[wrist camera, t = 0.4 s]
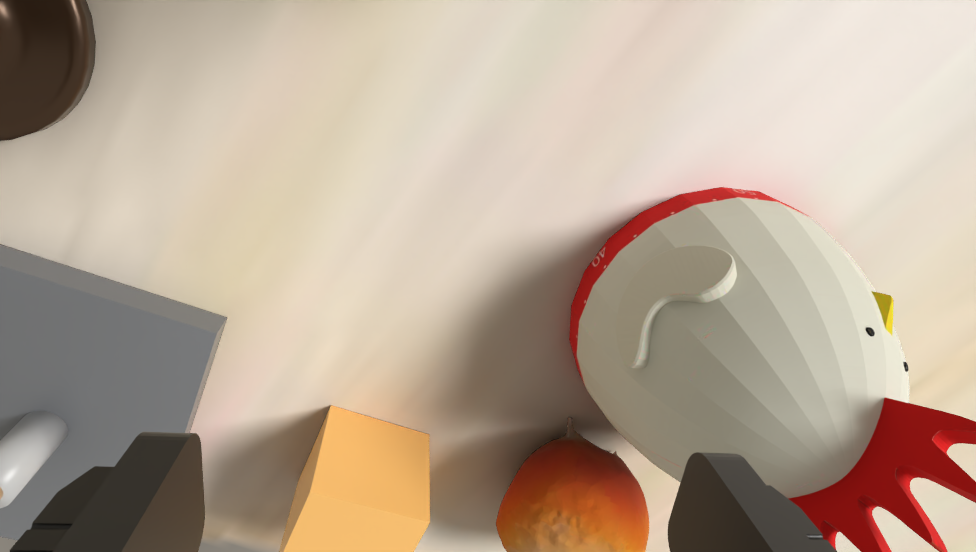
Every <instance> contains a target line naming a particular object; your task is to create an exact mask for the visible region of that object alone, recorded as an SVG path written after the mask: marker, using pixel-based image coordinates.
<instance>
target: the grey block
mask: <svg viewBox="0 0 976 552" xmlns="http://www.w3.org/2000/svg"><path fill="white" fill-rule="evenodd" d="M226 320H227V317H224V316H221V315H218V314H215V313H212V312H208V311H205V310H202V309H199V308H196V307H193V306H190V305H187V304H184V303H181V302H177V301H174V300H171V299H168V298H165V297H162V296H159V295H156V294H153V293H150V292H146V291H143V290H140V289H137V288H134V287H131V286H128V285H125V284H122V283H119V282H115V281H112V280H109V279H106V278H103V277H100V276H97V275H94V274H91V273H88V272H85V271H81V270H78V269H75V268H72V267H69V266H66V265H63V264H60V263H57V262H54V261H50V260H47V259H44V258H41V257H38V256H35V255H32V254H29V253H26V252H23V251H19V250H16V249H13V248H10V247H7V246H4V245H1V244H0V537H4V538H8V539H13V540H19V539H20V537H21V536H22V535H23V534H24V532H25V531H26V530H30V529H31V527H32V523H33V521H34V520H35V519H36V518H37V516H38V515H39V514H40V513H41V512H42V510H43V509H44V508H45V507H46V505H47V504H48V503H49V502H50V501H51V499H52V498H53V497H54V496H55V494H56V493H57V492H58V491H60V490H61V489H62V488H64V487H65V486H67V485H68V484H70V483H71V482H73V481H74V480H76V479H77V478H78V477H80V476H81V475H83V474H84V473H86V472H87V471H89V470H90V469H91V468H93V467H94V466H104V467H115V465H116V464H117V463H118V461H119V460H120V458H121V457H122V456H123V454H124V453H125V452H126V450H127V449H128V447H129V446H130V445H131V443H132V442H133V441H134V439H135V438H136V437H137V436H138V435H139V434H140V433H142V432H168V433H190V430H191V427H192V424H193V421H194V418H195V415H196V411H197V408H198V405H199V402H200V399H201V396H202V393H203V390H204V387H205V384H206V381H207V378H208V375H209V372H210V369H211V366H212V363H213V359H214V356H215V353H216V350H217V347H218V344H219V341H220V338H221V335H222V332H223V329H224V326H225V323H226Z"/></svg>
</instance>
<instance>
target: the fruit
mask: <svg viewBox="0 0 976 552" xmlns="http://www.w3.org/2000/svg"><path fill="white" fill-rule="evenodd" d="M567 425H568V427H567V433H566V434H565V436H563V437H562V438H560V439H556V440H552V441H550V442H549V443H547V444H545V445H544V446H542V447H540V448H539V449H537V450H536V451H535V452H533V453H532V454H531V455H530V456H529V457H528V458H527V459H526V460H525V462H524V463H523V465H522V466H521V468H520V469H519V471H518V472H517V474H516V476H515V477H514V479H513V481H512V483H511V484H510V486H509V488H508V490H507V492H506V494H505V496H504V498H503V500H502V503H501V505H500V509H499V512H498V516H497V520H496V526H497V530H498V534H499V537H500V539H501V541H502V544H503V546H504V548H505V549H506V551H507V552H645V550H646V545H647V540H648V534H649V516H648V511H647V506H646V501H645V497H644V494H643V492H642V489H641V487H640V485H639V483H638V481H637V480H636V478H635V477H634V476H633V474H632V473H631V471H630V470H629V469H628V467H627V466H626V464H625V463H624V462H623V461H622V459H621V458H619V457H618V456H617V454H616V452H615V453H614V454H612V453H609V452H607V451H605V450H603V449H601V448H599V447H597V446H596V445H594V444H592V443H591V442H589V441H587V440H586V439H584V438H583V437H582V436H581V435H580V434H578V433H577V432H576V431H575V430H574V429H573V427H572V417H571V418H570V417H568V423H567Z"/></svg>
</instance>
